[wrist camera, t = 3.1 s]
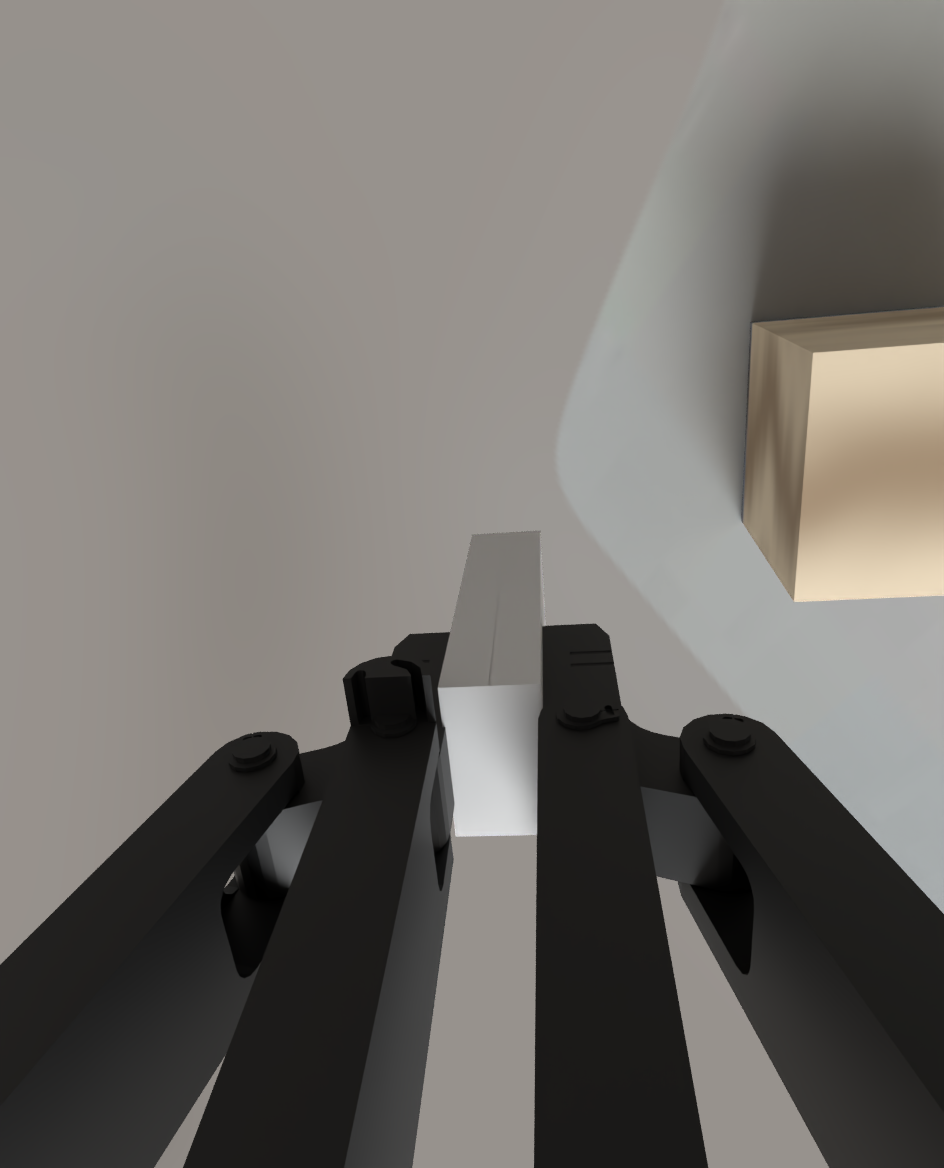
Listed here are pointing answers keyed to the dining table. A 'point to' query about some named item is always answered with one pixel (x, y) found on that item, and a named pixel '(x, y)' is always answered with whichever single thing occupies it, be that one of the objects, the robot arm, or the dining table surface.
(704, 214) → the dining table surface
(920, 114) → the dining table surface
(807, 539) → the beech block
